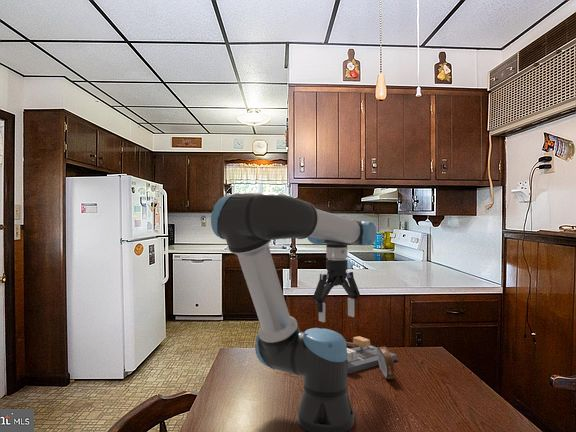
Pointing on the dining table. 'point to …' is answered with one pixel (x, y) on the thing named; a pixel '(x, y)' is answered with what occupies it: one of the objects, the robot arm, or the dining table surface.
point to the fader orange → (361, 342)
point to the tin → (386, 363)
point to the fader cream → (351, 354)
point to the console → (365, 359)
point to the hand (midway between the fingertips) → (336, 318)
